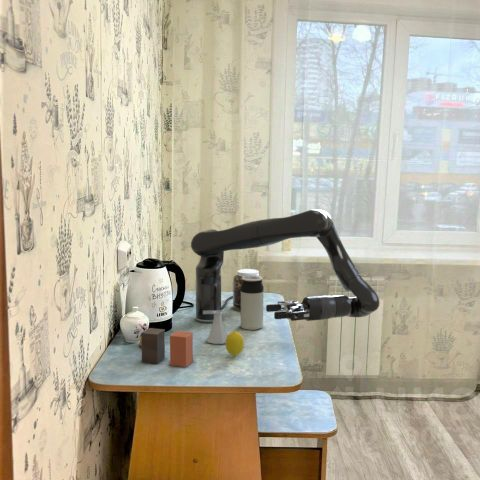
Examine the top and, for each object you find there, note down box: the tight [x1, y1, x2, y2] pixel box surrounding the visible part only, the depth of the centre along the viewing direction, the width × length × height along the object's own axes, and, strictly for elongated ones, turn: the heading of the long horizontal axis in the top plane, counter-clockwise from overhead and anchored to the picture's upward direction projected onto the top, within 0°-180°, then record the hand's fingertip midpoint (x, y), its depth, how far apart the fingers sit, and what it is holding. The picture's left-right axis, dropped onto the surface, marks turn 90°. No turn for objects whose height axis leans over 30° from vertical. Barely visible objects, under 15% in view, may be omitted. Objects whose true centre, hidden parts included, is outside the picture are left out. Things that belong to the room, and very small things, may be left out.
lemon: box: [225, 330, 245, 357], centre depth 182 cm, size 6×6×8 cm
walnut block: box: [140, 327, 166, 365], centre depth 177 cm, size 5×5×9 cm
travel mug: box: [240, 275, 265, 331], centre depth 211 cm, size 8×8×18 cm
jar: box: [232, 268, 264, 312], centre depth 235 cm, size 12×12×15 cm
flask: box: [206, 310, 228, 345], centre depth 195 cm, size 7×7×10 cm
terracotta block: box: [169, 330, 194, 368], centre depth 175 cm, size 5×5×9 cm
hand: (270, 311), depth 184 cm, fingers open, 8 cm apart
